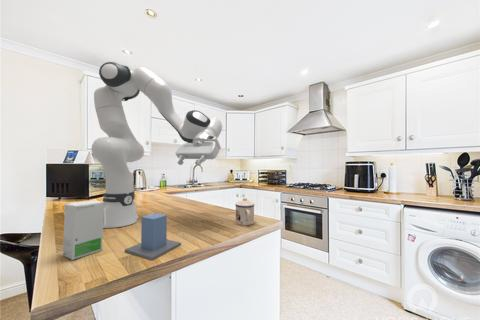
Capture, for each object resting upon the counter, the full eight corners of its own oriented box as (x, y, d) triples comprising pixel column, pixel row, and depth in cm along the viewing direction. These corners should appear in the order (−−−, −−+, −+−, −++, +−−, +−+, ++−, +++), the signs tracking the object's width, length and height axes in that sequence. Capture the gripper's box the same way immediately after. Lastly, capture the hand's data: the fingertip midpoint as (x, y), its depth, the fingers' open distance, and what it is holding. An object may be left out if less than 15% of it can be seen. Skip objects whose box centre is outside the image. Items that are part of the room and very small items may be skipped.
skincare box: (71, 261, 57) (72, 206, 57) (61, 255, 60) (62, 203, 60) (103, 250, 64) (104, 201, 64) (93, 245, 67) (94, 199, 67)
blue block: (141, 247, 64) (141, 216, 64) (154, 241, 69) (155, 213, 69) (153, 250, 62) (153, 219, 62) (166, 244, 67) (166, 215, 67)
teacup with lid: (233, 220, 98) (233, 196, 98) (251, 219, 100) (251, 196, 100) (238, 228, 86) (238, 201, 86) (258, 227, 88) (258, 200, 88)
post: (124, 252, 62) (125, 227, 63) (155, 238, 73) (156, 217, 73) (152, 260, 57) (152, 233, 57) (181, 245, 68) (181, 222, 68)
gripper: (182, 138, 94) (165, 158, 85) (219, 136, 85) (204, 159, 77) (188, 148, 98) (173, 168, 89) (224, 147, 89) (211, 170, 80)
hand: (188, 164), depth 83 cm, fingers open, 8 cm apart
